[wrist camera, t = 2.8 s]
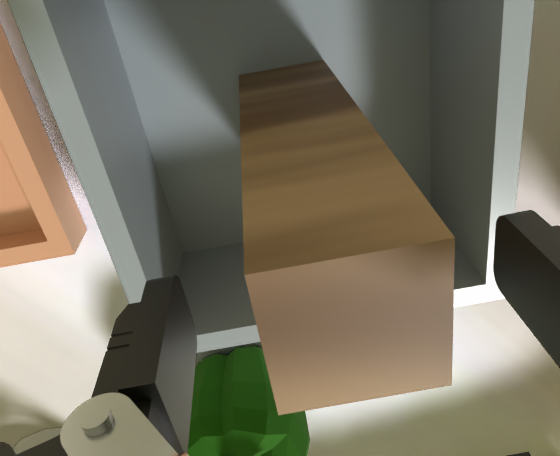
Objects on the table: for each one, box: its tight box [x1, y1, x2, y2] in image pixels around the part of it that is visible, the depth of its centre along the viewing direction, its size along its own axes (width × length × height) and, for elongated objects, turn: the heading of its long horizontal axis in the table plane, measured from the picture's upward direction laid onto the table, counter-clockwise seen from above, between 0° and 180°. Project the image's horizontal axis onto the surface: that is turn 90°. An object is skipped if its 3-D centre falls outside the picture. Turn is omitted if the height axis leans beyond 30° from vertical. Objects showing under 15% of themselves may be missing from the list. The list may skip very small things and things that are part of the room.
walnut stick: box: [239, 60, 455, 415], centre depth 17 cm, size 4×4×16 cm
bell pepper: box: [187, 346, 310, 456], centre depth 30 cm, size 8×8×10 cm
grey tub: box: [7, 0, 535, 353], centre depth 22 cm, size 16×16×8 cm
